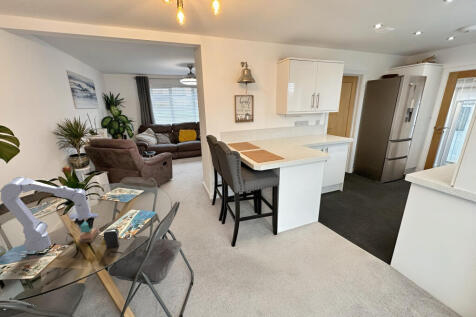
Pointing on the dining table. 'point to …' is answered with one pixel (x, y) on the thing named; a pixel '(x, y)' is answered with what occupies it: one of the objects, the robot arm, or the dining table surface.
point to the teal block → (85, 227)
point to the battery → (111, 238)
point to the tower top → (88, 234)
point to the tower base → (88, 238)
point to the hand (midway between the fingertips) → (87, 227)
